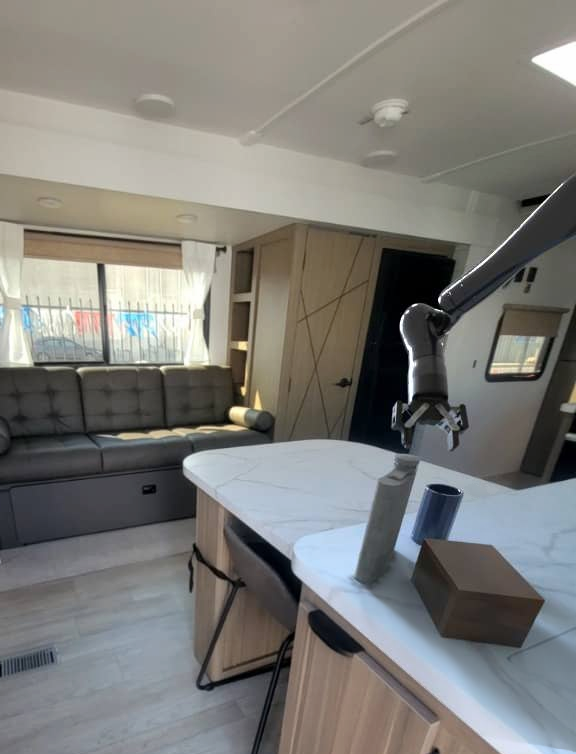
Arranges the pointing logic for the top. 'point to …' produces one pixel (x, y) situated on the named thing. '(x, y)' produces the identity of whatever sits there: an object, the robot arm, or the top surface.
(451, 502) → the blue cup
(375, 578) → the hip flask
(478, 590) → the walnut wood box
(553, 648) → the top surface
